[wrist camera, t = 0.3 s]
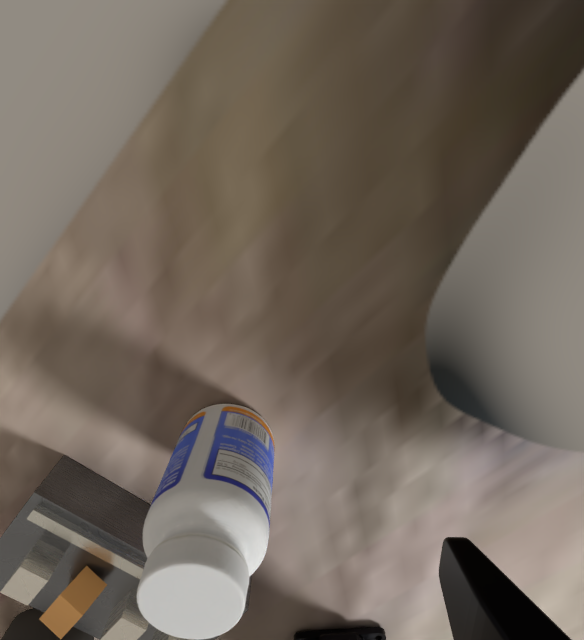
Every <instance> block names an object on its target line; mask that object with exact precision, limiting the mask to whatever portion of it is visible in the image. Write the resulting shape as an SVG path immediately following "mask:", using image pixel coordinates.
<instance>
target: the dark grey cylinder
mask: <svg viewBox="0 0 584 640" xmlns="http://www.w3.org/2000/svg"><path fill="white" fill-rule="evenodd" d="M43 614H44V612H42V611H40V610H38V609H36V608H34V609H30V610H27V611H24V612H22V613H20V614H19V615H17V616H16V617H15V618H14V620H13V621H12V623H11V625H10V626H9V628H8V629H7V631H6V633H5V634H4V636H3V637H2V639H1V640H94V637H93V636H91V635H89V634H87V633H85V632H83V631H81V630H79V629H77V628H75V627H72V628H71V629H70V630H69V631H68V632H67V633H66V634H65V636H64V637H63V638H62V639H60V638H59V637H57V636H56V635H55V634H54V633H53V632H52V631H51V630H50V629H49V628H48V627H47V626H46V625H45V624H44V623H43V622H42V621H40V620H39V618H40V617H41V616H42V615H43Z"/></svg>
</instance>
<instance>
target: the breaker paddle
mask: <svg viewBox="0 0 584 640" xmlns="http://www.w3.org/2000/svg"><path fill="white" fill-rule="evenodd" d="M106 586H107V584H106V583H105V582H104V581H103V580H102V579H100V578H99V577H98V576H97V575H96V574H95V573H94V572H93V571H92V570H91V569H90V568H89V567H88V566H86V567H85V568H84V569H83V570H82V571H81V572H80V573H79V574H78V575H77V577H76V578H75V579H74V580H73V581H72V582H71V583H70V584H69V585H68V586H67V588H66V589H65V590H64V591H63V592H62V593H61V594H60V595H59V596H58V598H57V599H56V600H55V601H54V602H53V603H52V605H51V606H50V607H49V608H48V609H47V610H46V612H45V613H44V614H43V615H42V616H41V617H40V618H39V620H40V621H42V622H43V623H44V624H45V625H46V626H47V627H48V628H49V629H50V630H51V631H52V632H53V633H54V634H55V635H56V636H57V637H59V638H60V639H62V638H63V637H64V636H65V634H66V633H67V632H68V631H69V630H70V629H71V628H72V627H73V626H74V625H75V624H76V622H77V621H78V620H79V619H80V618H81V617H82V616H83V615H84V613H85V612H86V611H87V610H88V608H89V607H90V606H91V605H92V603H93V602H94V601H95V600H96V598H97V597H98V596H99V595H100V593H101V592H102V591H103V590H104V588H105V587H106Z"/></svg>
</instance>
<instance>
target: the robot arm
mask: <svg viewBox="0 0 584 640" xmlns="http://www.w3.org/2000/svg"><path fill="white" fill-rule="evenodd" d="M439 578H440V584H441V588H442V592H443V597H444V601H445V605H446V609H447V613H448V617H449V622H450V626H451V630H452V634H453V638H454V640H571V639H570V638H569V637H568V636H567V635H566V634H565V633H564V632H563V631H562V630H561V629H560V628H559V627H558V626H557V625H556V624H555V623H554V622H553V621H552V620H551V619H550V618H549V617H548V616H547V615H546V614H545V613H544V612H543V611H542V610H541V609H540V608H539V607H537V606H536V605H535V604H534V603H533V602H532V601H531V600H530V599H529V598H528V597H527V596H526V595H525V594H524V593H523V592H522V591H521V590H520V589H519V588H518V587H517V586H516V585H515V584H514V583H513V582H512V581H511V580H510V579H509V578H508V577H507V576H506V575H505V574H504V573H503V572H502V571H501V570H500V569H499V568H498V567H497V566H496V565H495V564H494V563H493V562H492V561H491V560H489V559H488V558H487V557H486V556H485V555H484V554H483V553H482V552H481V551H480V550H479V549H478V548H477V547H476V546H475V545H474V544H473V543H472V542H471V541H470V540H469V539H467V538H464V537H447V538H445V540H444V542H443V546H442V552H441V559H440V565H439ZM294 640H386V636H385V631H384V629H383V628H381V627H372V628H357V629H342V630H326V631H311V632H299V633H296V634H295V635H294Z"/></svg>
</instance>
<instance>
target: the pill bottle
mask: <svg viewBox="0 0 584 640" xmlns="http://www.w3.org/2000/svg"><path fill="white" fill-rule="evenodd" d="M273 465H274V438H273V434H272V432H271V429H270V427H269V426H268V424H267V423H266V421H265V420H264V419H263V418H262V417H261V416H260V415H259V414H257V413H256V412H254V411H253V410H251V409H249V408H246V407H243V406H240V405H235V404H217V405H212V406H209V407H206V408H204V409H202V410H200V411H198V412H197V413H196V414H195V415H193V416H192V417H191V418H190V420H189V421H188V422H187V424H186V425H185V427H184V429H183V431H182V433H181V435H180V437H179V440H178V442H177V445H176V447H175V449H174V452H173V454H172V457H171V459H170V461H169V464H168V466H167V468H166V471H165V473H164V475H163V478H162V480H161V482H160V485H159V487H158V489H157V492H156V494H155V496H154V499H153V501H152V503H151V506H150V509H149V511H148V514H147V516H146V519H145V522H144V527H143V547H144V551H145V553H146V556H147V558H148V559H147V561H146V563H145V567H144V570H143V573H142V576H141V579H140V582H139V585H138V589H137V604H138V608H139V610H140V612H141V614H142V615H143V617H144V618H145V619H146V620H147V621H148V622H149V623H150V624H151V625H152V626H154V627H155V628H157V629H158V630H160V631H162V632H164V633H166V634H169V635H171V636H175V637H178V638H184V639H195V640H199V639H208V638H213V637H216V636H219V635H221V634H223V633H225V632H227V631H229V630H230V629H231V628H232V627H234V626H235V625H236V624H237V622H238V621H239V620H240V618H241V616H242V614H243V611H244V608H245V603H246V596H247V590H248V586H249V577H250V576H251V575H252V574H253V573H254V572H255V571H256V570H257V568H258V567H259V566H260V564H261V563H262V561H263V559H264V556H265V554H266V550H267V545H268V539H269V527H270V512H271V496H272V481H273Z"/></svg>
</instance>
